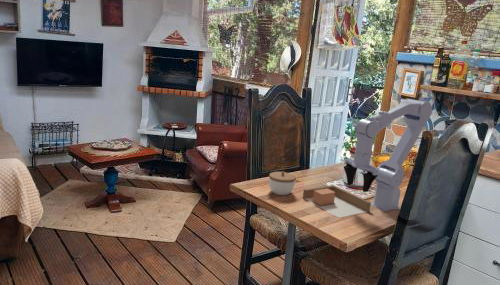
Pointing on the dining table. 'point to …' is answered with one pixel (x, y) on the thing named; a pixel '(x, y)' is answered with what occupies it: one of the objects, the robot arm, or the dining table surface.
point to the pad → (323, 205)
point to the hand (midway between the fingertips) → (357, 187)
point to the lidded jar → (281, 182)
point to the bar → (323, 196)
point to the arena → (340, 202)
